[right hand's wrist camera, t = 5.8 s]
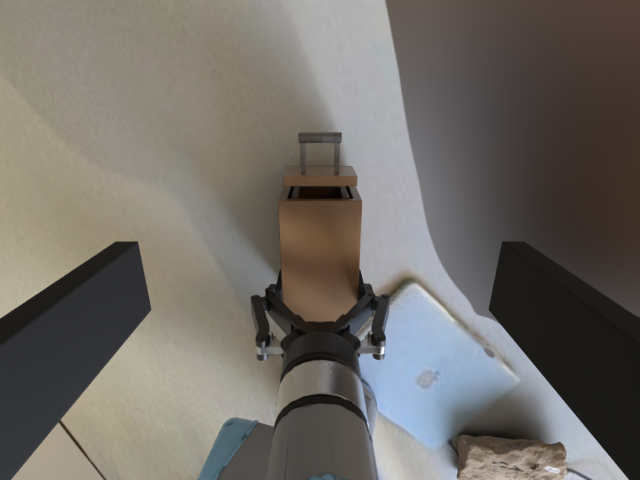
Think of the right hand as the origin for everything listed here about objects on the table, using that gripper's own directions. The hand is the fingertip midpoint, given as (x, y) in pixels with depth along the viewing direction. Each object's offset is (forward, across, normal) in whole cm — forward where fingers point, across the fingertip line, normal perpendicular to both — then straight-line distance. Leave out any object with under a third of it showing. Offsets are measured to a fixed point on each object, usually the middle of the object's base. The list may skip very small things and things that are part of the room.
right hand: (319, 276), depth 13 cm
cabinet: (+41, 0, -14) cm, 43 cm away
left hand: (+36, 0, -18) cm, 40 cm away
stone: (+41, +38, -60) cm, 81 cm away
